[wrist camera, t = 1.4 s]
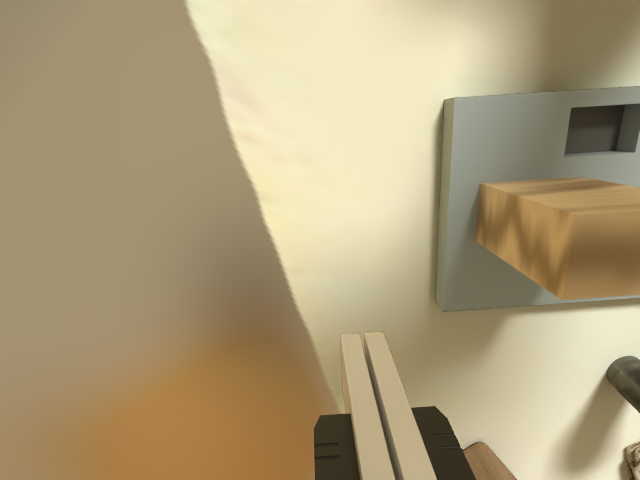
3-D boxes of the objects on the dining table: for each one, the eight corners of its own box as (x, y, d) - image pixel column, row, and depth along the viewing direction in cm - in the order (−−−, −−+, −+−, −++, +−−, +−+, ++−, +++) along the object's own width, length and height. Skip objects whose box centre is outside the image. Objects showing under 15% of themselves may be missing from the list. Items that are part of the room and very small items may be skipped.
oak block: (480, 183, 35) (576, 215, 22) (580, 176, 35) (731, 204, 22) (475, 241, 36) (561, 300, 24) (570, 234, 37) (705, 290, 24)
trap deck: (444, 99, 34) (474, 93, 28) (764, 79, 35) (863, 69, 29) (435, 301, 41) (457, 331, 35) (703, 282, 42) (772, 309, 36)
